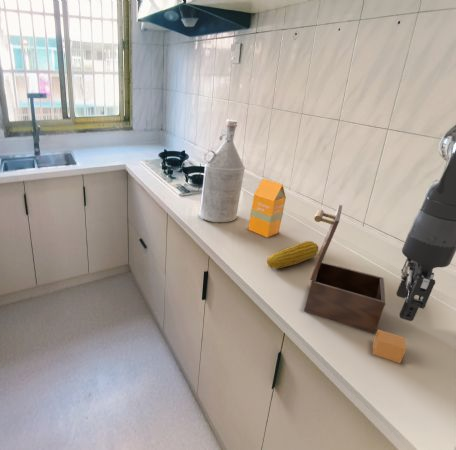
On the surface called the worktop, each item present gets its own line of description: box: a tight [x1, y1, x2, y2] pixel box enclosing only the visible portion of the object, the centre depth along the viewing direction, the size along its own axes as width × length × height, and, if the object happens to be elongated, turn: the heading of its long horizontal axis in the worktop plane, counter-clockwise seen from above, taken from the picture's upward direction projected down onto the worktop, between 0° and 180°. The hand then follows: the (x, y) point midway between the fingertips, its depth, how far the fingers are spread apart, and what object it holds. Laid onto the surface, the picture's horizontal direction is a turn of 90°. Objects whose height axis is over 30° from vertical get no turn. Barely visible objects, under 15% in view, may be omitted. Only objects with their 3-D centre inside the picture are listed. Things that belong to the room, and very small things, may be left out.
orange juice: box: [248, 178, 287, 238], centre depth 127 cm, size 8×9×20 cm
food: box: [266, 240, 319, 269], centre depth 108 cm, size 21×6×6 cm, turn 121°
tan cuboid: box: [372, 329, 407, 364], centre depth 73 cm, size 5×4×4 cm
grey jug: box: [198, 118, 246, 223], centre depth 135 cm, size 13×17×40 cm
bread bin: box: [303, 261, 386, 334], centre depth 86 cm, size 16×13×9 cm
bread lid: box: [310, 204, 343, 281], centre depth 85 cm, size 16×13×5 cm
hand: (403, 307), depth 69 cm, fingers open, 8 cm apart
